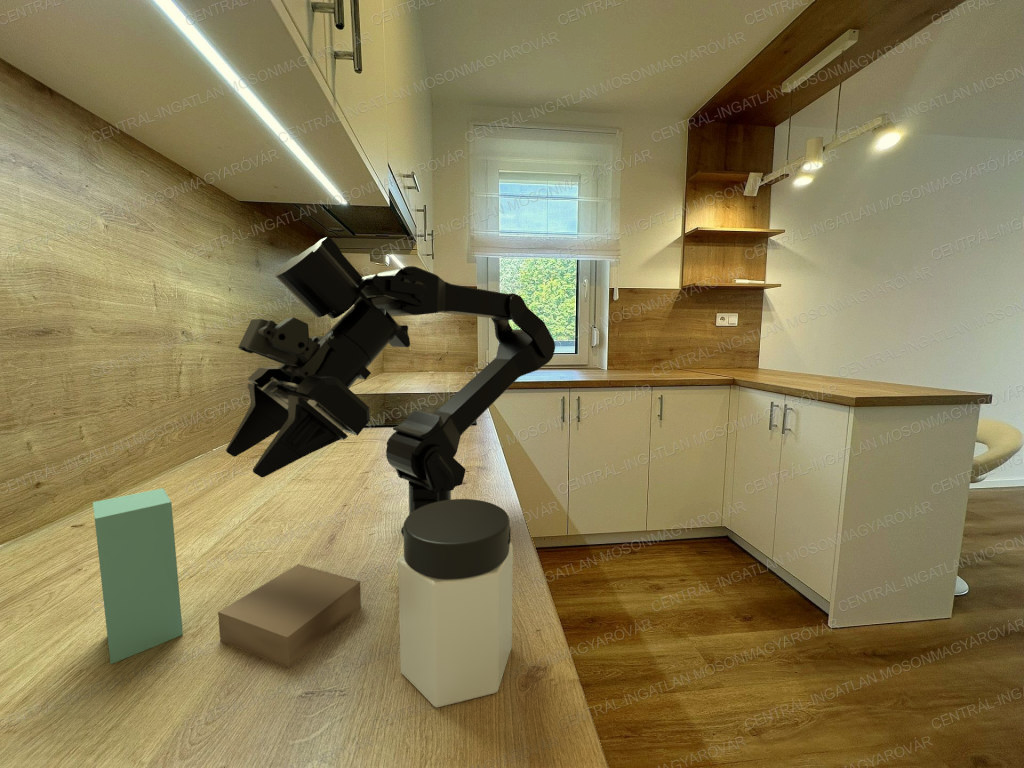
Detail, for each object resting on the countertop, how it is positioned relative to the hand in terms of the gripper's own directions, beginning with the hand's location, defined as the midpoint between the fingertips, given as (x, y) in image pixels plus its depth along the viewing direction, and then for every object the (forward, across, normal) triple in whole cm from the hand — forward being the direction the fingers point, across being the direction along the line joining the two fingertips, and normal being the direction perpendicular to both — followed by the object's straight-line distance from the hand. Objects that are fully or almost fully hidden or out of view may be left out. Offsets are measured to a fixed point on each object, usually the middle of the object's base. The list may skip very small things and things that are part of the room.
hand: (242, 463), depth 40 cm
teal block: (+15, 0, +4) cm, 16 cm away
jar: (+3, +22, +16) cm, 27 cm away
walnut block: (+9, +7, +11) cm, 16 cm away
